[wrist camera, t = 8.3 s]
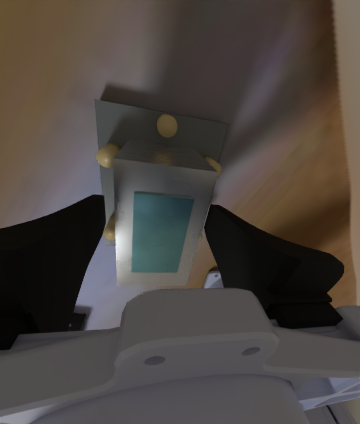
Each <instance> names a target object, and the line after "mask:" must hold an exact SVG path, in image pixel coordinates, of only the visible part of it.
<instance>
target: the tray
mask: <svg viewBox="0 0 360 424" xmlns="http://www.w3.org/2000/svg"><path fill="white" fill-rule="evenodd" d="M95 109H96V122H97V134H98V147H99V151H98V152H97V155H96V157H97V161H98V162H99V164H100V172H101V185H102V195H104V198H105V212H106V224H105V230H104V232H103V235H104V237H105V238H106V245H112V246H116V235H115V205H114V175H113V158H114V157H115V155H116V154H117V153H118V152H119V151H120V150H121V149H122V147H123V146H124V145H125V144H126V143H127V142H128V141H129V139H130V138H137V139H143V140H150V141H156V142H163V143H169V144H175V145H182V146H188V147H193V148H194V149H195V150H196V151H197V152H198V153H199V154H200V155H201V156H202V157H203V158H204V159H205V160H206V161H207V162H209V163H210V164H211V165H212V166H213V167H214V168H215V169H216V170H217V171H218V176H217V178H218V177H219V176H220V174H221V166H220V165H219V164H218V161H219V158H220V154H221V150H222V147H223V143H224V139H225V136H226V132H227V128H228V125H229V124H226V123H220V122H215V121H209V120H204V119H199V118H193V117H188V116H182V115H177V114H172V113H166V112H161V111H155V110H150V109H145V108H139V107H134V106H128V105H123V104H118V103H112V102H107V101H101V100H96V99H95ZM201 240H202V234H201V235H200V238H199V242H200V241H201Z"/></svg>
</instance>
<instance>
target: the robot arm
mask: <svg viewBox="0 0 360 424" xmlns="http://www.w3.org/2000/svg"><path fill="white" fill-rule="evenodd" d="M105 224H106V212H105V198H104V195H91V196H89V197H87V198H85V199H83V200H81V201H79V202H77V203H75V204H73V205H71V206H68V207H66V208H64V209H61V210H59V211H57V212H55V213H52V214H49V215H47V216H44V217H41V218H38V219H35V220H32V221H28V222H25V223H21V224H17V225H14V226H10V227H6V228H1V229H0V424H357V423H356V421H355V419H354V418H353V416H352V415H351V413H350V411H349V410H348V408H347V407H346V405H345V404H344V402H343V401H346V400H351V399H356V398H360V306H341V307H338V308H335V309H334V308H333V307H332V305H331V304H330V303H329V302H332V298H331V297H330V296H329V295H328V294H327V292H328V291H329V290H330V289H331V288H332V287H333V286H334V285H335V284H336V283H337V282H338V281H339V280H340V278H341V277H342V275H343V273H344V265H343V263H342V262H340V261H339V260H338V259H337V258H336V257H334V256H333V255H331V254H329V253H326V252H322V251H319V250H315V249H311V248H307V247H304V246H301V245H298V244H295V243H292V242H289V241H286V240H283V239H281V238H278V237H276V236H273V235H271V234H269V233H267V232H265V231H263V230H260V229H258V228H256V227H255V226H253V225H251V224H249V223H248V222H246V221H244V220H243V219H241V218H239V217H238V216H236V215H235V214H233V213H232V212H230V211H228V210H227V209H225V208H224V207H222V206H220V205H213V204H211V205H210V208H209V212H208V216H207V219H206V223H205V226H204V229H205V234H206V238H207V241H208V243H209V246H210V248H211V251H212V253H213V256H214V258H215V261H216V263H217V266H218V269H219V271H210V272H209V273H208V276H207V278H206V281H205V284H204V287H203V288H199V289H159V290H153V291H148V292H143V293H142V294H140V295H138V296H137V297H135V298H133V299H132V300H130V301H129V302H127V304H126V306H125V308H124V310H123V312H122V318H121V324H120V327H116V328H111V329H104V330H87V331H70V332H68V329H69V325H70V321H71V318H72V314H73V311H74V307H75V304H76V301H77V297H78V294H79V291H80V288H81V285H82V282H83V279H84V276H85V273H86V270H87V267H88V265H89V262H90V260H91V258H92V256H93V254H94V252H95V250H96V248H97V245H98V243H99V241H100V239H101V237H102V235H103V231H104V228H105Z"/></svg>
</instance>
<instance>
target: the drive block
mask: <svg viewBox="0 0 360 424" xmlns="http://www.w3.org/2000/svg"><path fill="white" fill-rule="evenodd" d="M113 175H114V205H115V235H116V265H117V286H175V285H186V284H187V280H188V277H189V273H190V270H191V266H192V263H193V259H194V256H195V252H196V249H197V245H198V242H199V238H200V235H201V232H202V228H203V225H204V221H205V218H206V214H207V211H208V207H209V204H210V200H211V197H212V193H213V190H214V186H215V183H216V179H217V176H218V171H217V170H216V169H215V168H214V167H213V166H212V165H211V164H210V163H209V162H207V161H206V160H205V159H204V158H203V157H202V156H201V155H200V154H199V153H198V152H197V151H196V150H195V149H194V148H193V147H188V146H182V145H175V144H169V143H163V142H156V141H150V140H143V139H137V138H130V139H129V141H128V142H127V143H126V144H125V145H124V146H123V147H122V149H121V150H120V151H119V152H118V153H117V154H116V155H115V157H114V158H113Z"/></svg>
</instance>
